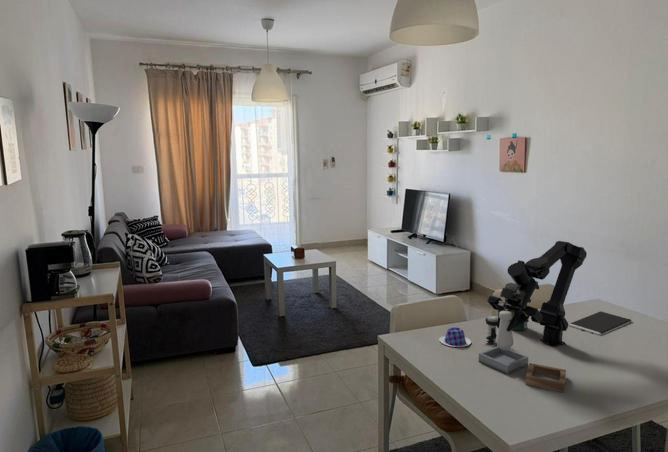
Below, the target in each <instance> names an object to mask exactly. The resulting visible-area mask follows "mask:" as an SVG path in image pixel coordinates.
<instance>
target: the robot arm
mask: <svg viewBox="0 0 668 452" xmlns="http://www.w3.org/2000/svg"><path fill="white" fill-rule="evenodd" d="M587 255H588V254H587V251H586V249H585V248H584V247H583V246H577V245H575V244H573V243H571V242H569V241H563V240H558V241H557V240H556V241H555V243H554V245H553V246H551V247H550V248H549V249H548V250H547V251H545V252H544V253H542V254H541V255H540V256H538V257H535V258H532V259H529V260H528V261H526V262H525V261H524V260H518V261H517V262H514V263H512V264H511V265H509V266H508V267H507V273H508V275H509V277H510V278H511V280H512V281H513V283H514V284H517V287H516V288H515V289H512V290H509V289H506V288H505V287H502V288H501V289H502V290H501V293H500V297H498V296H495V295H490V296H488V299H487V300H486V301H487V303H488V304H489V305H490V307H491V308H492V309H494V310H495V311H497V312H498V313H497V314H498V316H497V318H498V322H497V326H496V328H499V324H500V320H501V319H500V318H499V313H500V312H501V311H507V310H512V311H515V313H514V317H513V319H512V320H511V322H510V324H509V326H508V328H507V331H508V332H509V331H511V330H512V331H513V330H514V328H515V327H517V326H519V325H520V324H522V323H524V322H527V323H529V321H530V320H531V322H532V323H533V322H534V323H536V324H539V325H540V326H542V327H543V331H542V334H543V335H542V338H540V339H539V341H540V342H543V343H545V344H547V345H549V346H551V347H557V346H561V345H565V344H566V342H565V341H563V333H564V332H566V331H567V330H568V327H569V326H568V324H569V322H568V321H567V319H566V318H565V317H566V311H565V306H564V303H565V302H566V301H565V300H566V298H567V294H568V291H569V289H570V286H571V283H572V280H573V278H574V275H575V271H576V270H577V269H579V268H580V267H581V266H582V265H583V263H584V261H585V259H587ZM559 260H560V263H561V267H560V270H559V272H558V275H557V278H556V281H555V284H554V286H553V290H552V292H551V295H550V298H549V300H548V301H547V302H546V301H545V302H543V303H542V304H541V308H540V310H539V309H538V308H537V307H533V306H530V305H528V303H529V304H530V303H531V302H532V299H531V298H532V295H533V294H534V292H535V290H540V285H539V282H538V281H537V280H541V281H543V280H545V279H546V278H547V276H548V275H549V274H550V270H551V269H550V268H551V267H552V266H554V265H555V264H556V263H557V262H558V261H559ZM502 298H504V301H503V299H502ZM505 301H507V302H508V303H505ZM526 305H527V306H526ZM529 319H530V320H529Z"/></svg>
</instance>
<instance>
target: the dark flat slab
mask: <svg viewBox="0 0 668 452" xmlns="http://www.w3.org/2000/svg"><path fill="white" fill-rule="evenodd" d="M630 323H632V319H631V318H627V317H624V316H621V315H616V314H612V313H609V312H605V311H597V312H596V313H593V314H591V315H588V316H586V317H585V316H584V317H583V318H580V319H578V320H575V321H572V322H570V323H568V327H570V328H573V329H576V330H580V331H584V332H586V333H589V334H593V335H595V336H600V337H601V336H602V335H605V334H607V333H610V332H612V331H614V330H616V329H617V330H618V329H620V328H621V327H624V326H625V325H628V324H630Z"/></svg>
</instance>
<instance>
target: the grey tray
mask: <svg viewBox="0 0 668 452" xmlns="http://www.w3.org/2000/svg"><path fill="white" fill-rule="evenodd" d="M478 362H479V363H480V364H483V365H485V366H487V367H490V368H492V369H494V370H497V371H499V372H501V373H504V374H506V375H509V374H511V373H513V372H515V371H518V370H520V369H522V368H525V367H526V366H529V356H527V355H525V354H522V353H520V352H517V351H515V350H513V349H510V350H502V349H499V347H498V345H497V346H495V347H492V348H490V349H486V350H484V351H482V352H480V353H478Z"/></svg>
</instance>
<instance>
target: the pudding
mask: <svg viewBox="0 0 668 452" xmlns="http://www.w3.org/2000/svg"><path fill="white" fill-rule="evenodd" d="M444 339H445V340H444ZM438 340H439V342H441V344H442V345H445V346H448V347H453V348H463V347H468V346H470V345H471V344H472V341H471V339H470V338H469V337H467V336H465V332H464V330H463V329H462V328H461V327H457V326H456V327H453V326H451V327H449V328H448V329H447V330H446V334H445V335H442V336H441V337H439V338H438Z"/></svg>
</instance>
